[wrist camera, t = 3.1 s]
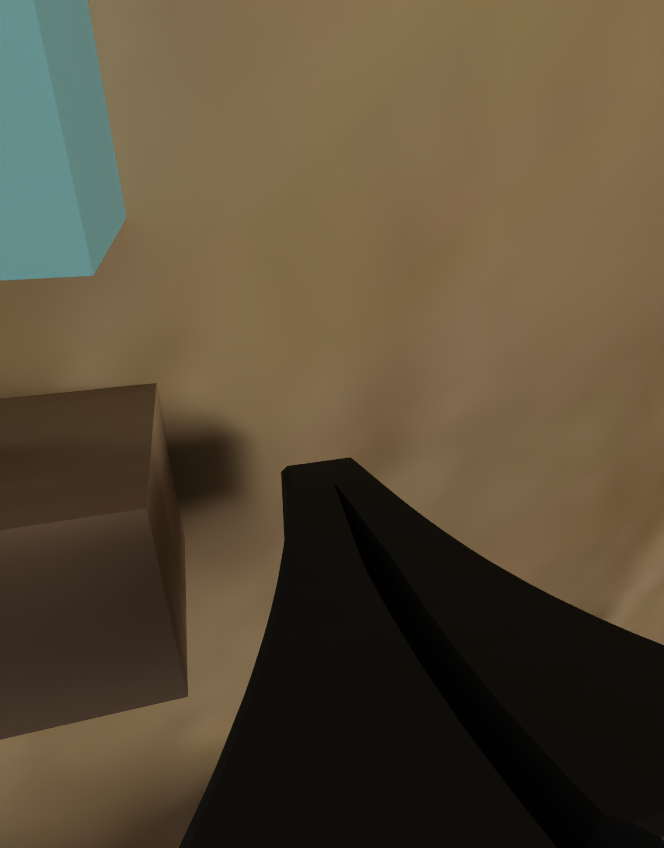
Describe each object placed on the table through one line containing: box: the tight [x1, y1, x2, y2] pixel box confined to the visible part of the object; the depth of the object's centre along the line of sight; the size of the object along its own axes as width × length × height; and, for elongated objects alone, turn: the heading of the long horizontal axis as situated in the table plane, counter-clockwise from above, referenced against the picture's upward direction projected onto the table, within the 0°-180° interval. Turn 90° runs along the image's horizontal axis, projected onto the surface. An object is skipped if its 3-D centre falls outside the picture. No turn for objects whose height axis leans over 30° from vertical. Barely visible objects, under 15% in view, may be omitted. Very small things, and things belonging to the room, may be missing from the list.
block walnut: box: [0, 383, 188, 739], centre depth 9 cm, size 4×4×4 cm
